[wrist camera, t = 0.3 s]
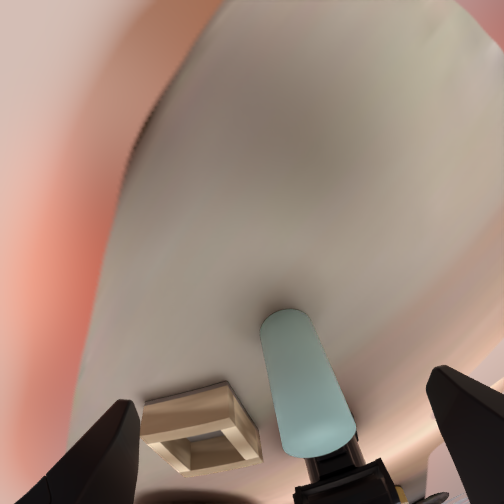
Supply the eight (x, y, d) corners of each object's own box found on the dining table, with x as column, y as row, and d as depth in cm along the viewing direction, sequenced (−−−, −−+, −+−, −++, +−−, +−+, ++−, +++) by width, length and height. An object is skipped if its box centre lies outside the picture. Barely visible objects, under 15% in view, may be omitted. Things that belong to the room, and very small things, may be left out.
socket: (258, 430, 28) (263, 462, 25) (186, 446, 29) (184, 477, 25) (227, 380, 25) (229, 417, 22) (145, 401, 26) (138, 436, 22)
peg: (317, 340, 24) (359, 441, 15) (269, 358, 25) (293, 464, 15) (304, 301, 23) (351, 405, 14) (252, 320, 23) (272, 432, 14)
